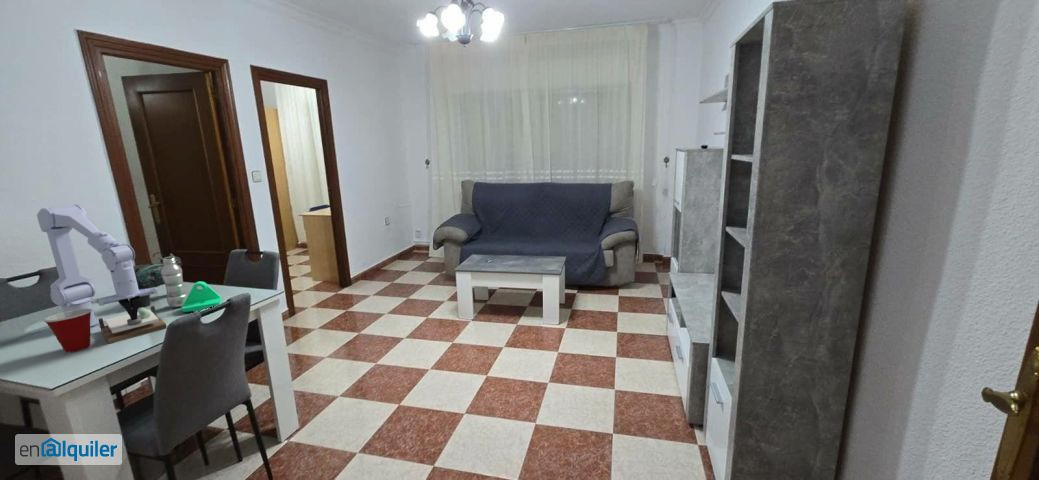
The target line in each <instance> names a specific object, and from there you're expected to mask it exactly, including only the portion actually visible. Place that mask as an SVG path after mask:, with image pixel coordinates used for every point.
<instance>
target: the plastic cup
mask: <svg viewBox="0 0 1039 480" xmlns="http://www.w3.org/2000/svg"><path fill="white" fill-rule="evenodd" d="M92 308H93V307H92ZM92 308H85V309H78V310H72V311H67V312H63V311H62V312H59V313H56V314H52V315H50V316H47V317H45V318H43V322H44V323H46V325H47V326H48V327H49V329H51V331H52V333H53V335H54V336H55V338H56V340H57V341H58V343H59V344H60V346H61V348H62V349H63V351H64V352H65V353H74V352H79V351H81V350H85V349H87V348H89V347H90V346H91V335H92V334H91V327H90V316H91V311H92Z"/></svg>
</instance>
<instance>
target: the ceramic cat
mask: <svg viewBox="0 0 1039 480" xmlns="http://www.w3.org/2000/svg"><path fill="white" fill-rule="evenodd" d="M157 254H160V255H161V256H162V257H158V259H159V260H160V261H159V262H157V263H152V262H151V263H144V264H140V265H141V266H139V267H137V268H136V269H135V271H134V272H136V271H137V269H138V268H140V267H142V266H143V265H147V264H149V265H148V266H146V267H144V268H142V269H140V270H138V271H137V272H136V273H135V276H136V280H137V284H138V289H139V290H141V289H148V288H153V287H155V288H156V287H157V288H158V287H160V286H163V285H165V283H164V280H163V278H162V275H161V270H162V268H163V267H164V264H163V259H164V258H169V257H175V261H176V262H175V263H176V264H177V265H178V266H180V267H181V268H182V265H183V262H182V260H181V258H180V257H178V256H175V255H174V254H173V253H170V254H169V256H165V257H164V255H163V253H162V252H158V251H157V252H154V253H153V254H152V257H154V258H155V255H157ZM150 297H151V294H150V295H145V296H141V297H140V298H141V302H140V305H139V308H142V307H143V308H146V307H149V306H151V302H150V299H151V298H150ZM139 308H138V309H139Z"/></svg>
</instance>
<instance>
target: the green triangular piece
mask: <svg viewBox="0 0 1039 480" xmlns="http://www.w3.org/2000/svg"><path fill="white" fill-rule="evenodd" d="M199 287H200V289H199ZM187 296H188V297H187V299H186V300H185V302H184V304H183V306H181V312H182V313H187V312H188V313H189V312H193V313H194V312H196V311H201V310H203V309H207V308H210V307H212V306H216V305H219V304H220V305H221V303H222V296H221V295H220V294H219V293H218V292H216V291H215V290H214V288H212V287H211V286H210V285H209V284H207V282H205V281H197V282H195V283H194V284H193V286H192V287H191V290H190V291H189V293H188V294H187ZM212 308H213V307H212ZM201 312H202V311H201ZM196 313H197V312H196Z"/></svg>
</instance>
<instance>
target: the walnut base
mask: <svg viewBox="0 0 1039 480" xmlns="http://www.w3.org/2000/svg"><path fill="white" fill-rule="evenodd" d="M149 306H150V308H149V309H150V310H151V311H152V312H153V313H154V314H155V316H156V317H157V318H158V319H159V322H155V323H151V324H147V325H143V326H139V327H136V328H132V329H128V330H124V331H120V332H116V333H112V332H111V330H110V329H109V327H108V325H107V324H106V325H105V324H104V322H105V321H104V319H103V317H100V318H97V321H98V322H99V328H100V331H101V333H102V335H103V336H104V338H105V340H106V342H107V343H108V344H113V343H116V342H120V341H125V340H127V339H131V338H132V339H133V338H135V337H139V336H143V335H146V334H150V333H153V332H157V331H161V330H164V329H167V328H166V327H167V323H166V322H164V321H163V320H162V318H160V317H159V315H158V314H157V313H156V308H155V305H149Z"/></svg>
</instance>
